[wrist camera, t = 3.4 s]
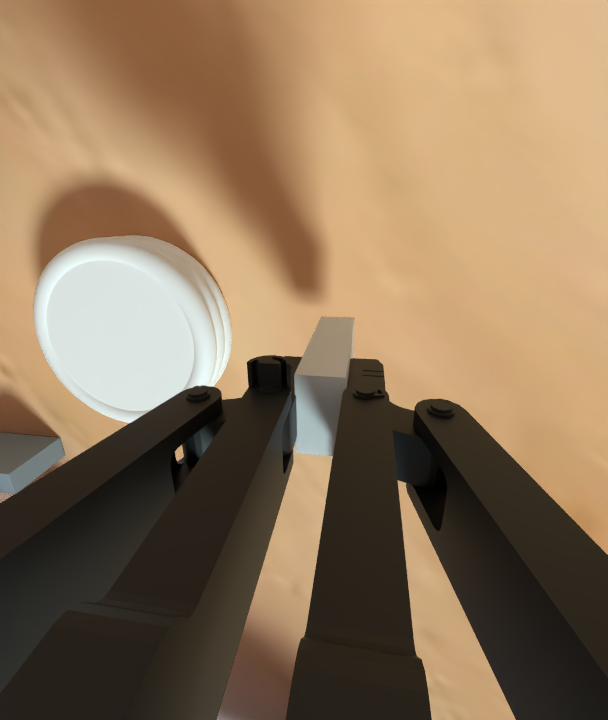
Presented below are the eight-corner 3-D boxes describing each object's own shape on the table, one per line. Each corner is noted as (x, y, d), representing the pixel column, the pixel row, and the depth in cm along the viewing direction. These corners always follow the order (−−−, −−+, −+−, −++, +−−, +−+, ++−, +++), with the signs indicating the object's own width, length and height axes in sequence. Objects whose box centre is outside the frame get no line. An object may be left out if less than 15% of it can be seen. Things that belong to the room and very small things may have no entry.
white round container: (55, 240, 21) (-2, 244, 18) (221, 228, 19) (191, 230, 16) (101, 398, 24) (60, 426, 21) (245, 400, 23) (224, 431, 19)
